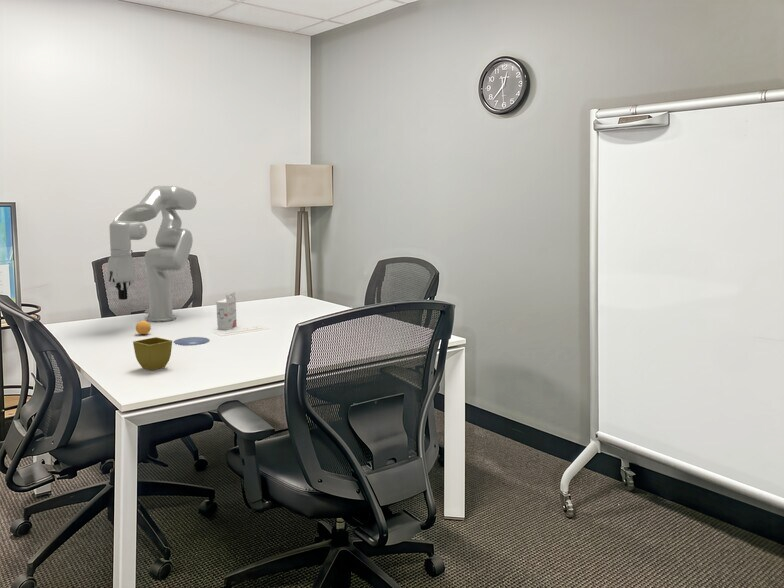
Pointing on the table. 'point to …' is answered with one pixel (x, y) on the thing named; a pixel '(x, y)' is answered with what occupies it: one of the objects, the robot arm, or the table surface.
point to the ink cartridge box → (226, 312)
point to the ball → (143, 327)
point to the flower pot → (153, 352)
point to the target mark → (191, 341)
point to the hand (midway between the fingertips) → (123, 299)
